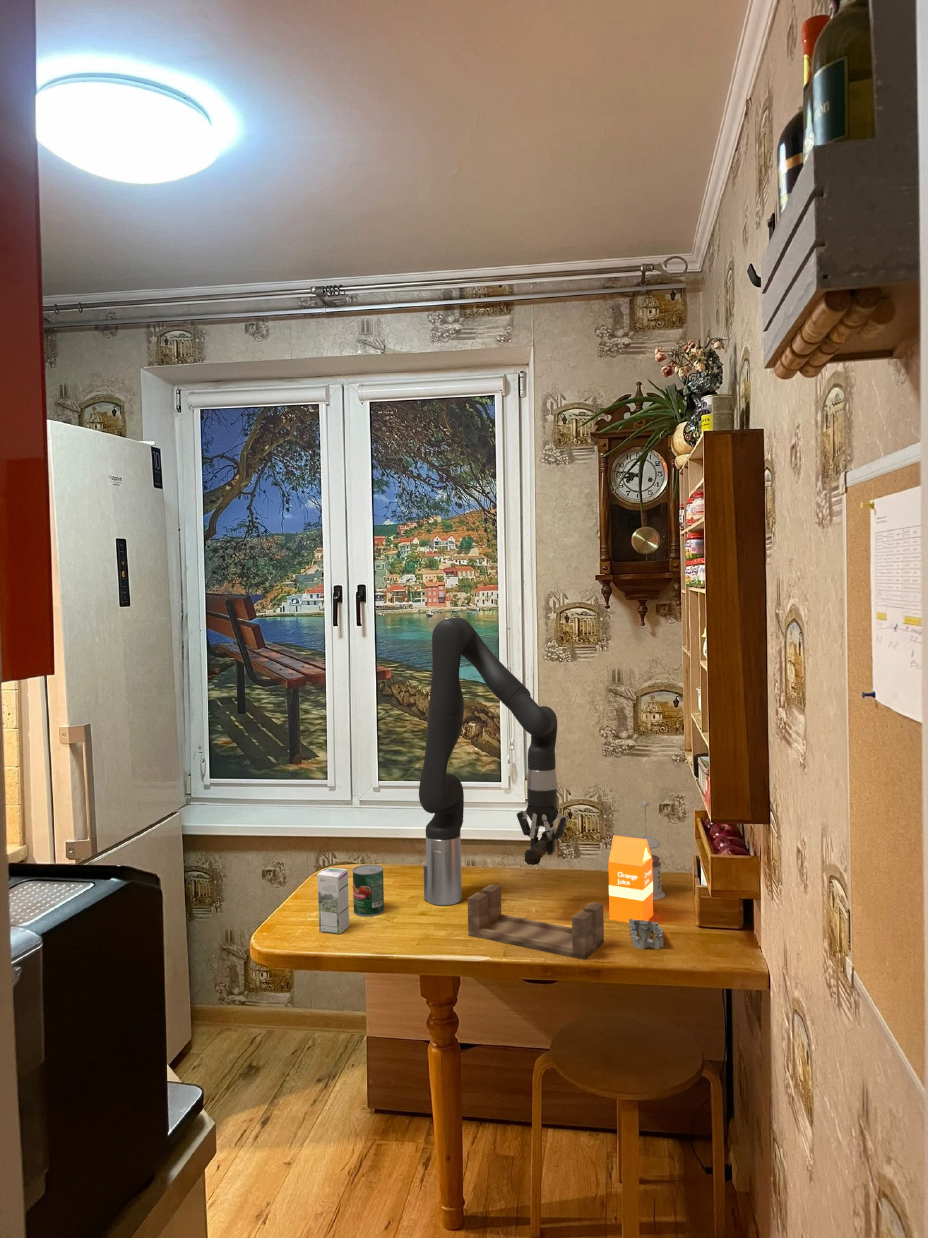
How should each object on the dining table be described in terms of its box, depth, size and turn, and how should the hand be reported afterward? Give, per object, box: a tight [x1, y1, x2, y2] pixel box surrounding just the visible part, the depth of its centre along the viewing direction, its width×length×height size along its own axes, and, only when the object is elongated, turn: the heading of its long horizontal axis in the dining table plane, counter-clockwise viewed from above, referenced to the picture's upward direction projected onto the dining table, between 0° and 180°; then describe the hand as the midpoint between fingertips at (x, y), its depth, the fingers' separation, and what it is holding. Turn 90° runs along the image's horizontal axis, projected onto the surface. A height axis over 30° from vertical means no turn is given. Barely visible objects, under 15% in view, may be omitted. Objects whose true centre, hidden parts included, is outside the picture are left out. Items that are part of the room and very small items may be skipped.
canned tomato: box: [352, 863, 385, 918], centre depth 232 cm, size 8×8×11 cm
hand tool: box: [524, 830, 548, 866], centre depth 228 cm, size 19×4×5 cm, turn 157°
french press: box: [637, 800, 666, 901], centre depth 239 cm, size 10×12×25 cm
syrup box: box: [316, 867, 350, 935], centre depth 220 cm, size 6×6×14 cm
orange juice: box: [608, 835, 654, 924], centre depth 223 cm, size 8×9×20 cm
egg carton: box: [628, 918, 664, 950], centre depth 209 cm, size 11×8×4 cm
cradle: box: [467, 884, 605, 961], centre depth 211 cm, size 30×11×9 cm, turn 59°
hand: (542, 853), depth 228 cm, fingers closed on hand tool, 3 cm apart
